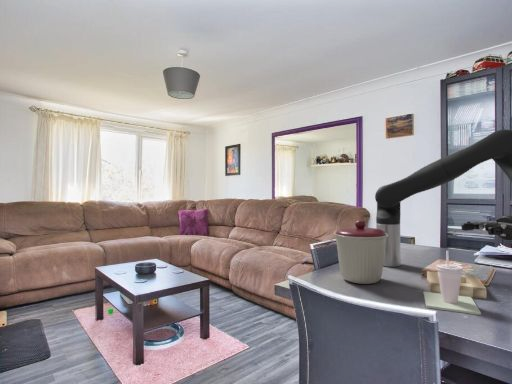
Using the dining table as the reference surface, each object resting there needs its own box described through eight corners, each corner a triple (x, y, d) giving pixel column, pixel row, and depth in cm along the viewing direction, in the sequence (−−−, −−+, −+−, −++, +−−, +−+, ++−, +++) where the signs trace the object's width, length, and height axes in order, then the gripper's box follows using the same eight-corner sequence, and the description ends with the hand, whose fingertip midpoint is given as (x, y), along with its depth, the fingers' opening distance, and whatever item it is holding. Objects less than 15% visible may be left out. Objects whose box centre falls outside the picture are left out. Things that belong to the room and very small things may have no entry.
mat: (426, 307, 82) (426, 305, 82) (423, 293, 93) (423, 291, 93) (480, 315, 77) (480, 312, 77) (471, 299, 87) (471, 297, 87)
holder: (430, 292, 93) (430, 282, 93) (427, 279, 106) (427, 271, 106) (486, 298, 87) (486, 288, 87) (475, 284, 100) (475, 275, 100)
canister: (380, 292, 94) (379, 224, 94) (326, 282, 105) (325, 221, 105) (394, 277, 109) (393, 219, 109) (345, 270, 120) (344, 216, 119)
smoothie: (431, 297, 88) (430, 248, 87) (452, 296, 88) (451, 248, 88) (447, 305, 81) (446, 253, 81) (469, 304, 82) (469, 252, 82)
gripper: (494, 213, 101) (454, 214, 97) (543, 218, 87) (500, 219, 84) (493, 235, 102) (454, 237, 98) (543, 244, 88) (499, 246, 84)
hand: (475, 228), depth 91 cm, fingers open, 8 cm apart
